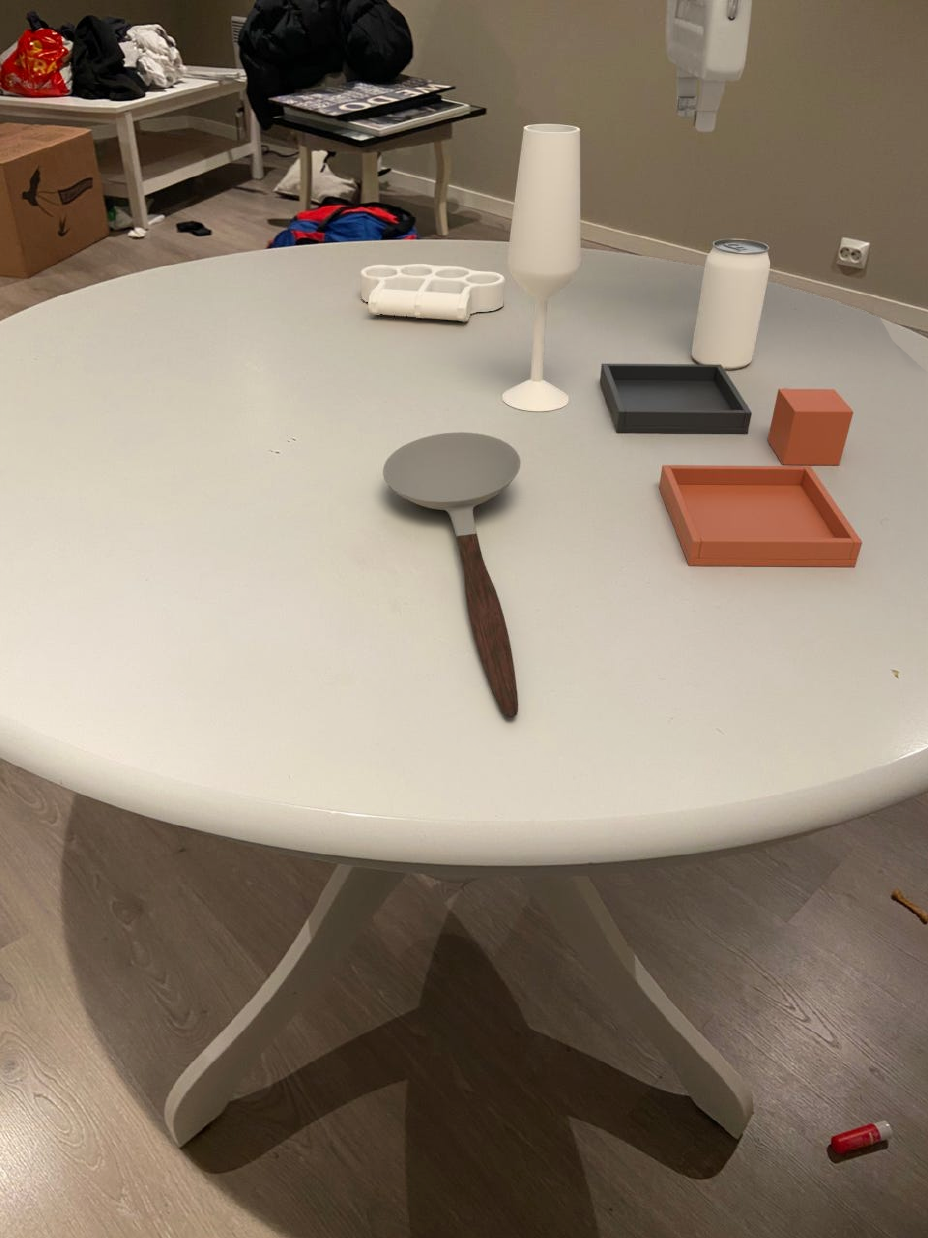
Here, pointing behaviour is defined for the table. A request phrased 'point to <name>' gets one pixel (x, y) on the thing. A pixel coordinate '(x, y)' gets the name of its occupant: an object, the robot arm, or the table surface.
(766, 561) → the terracotta tray
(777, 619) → the table surface
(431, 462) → the spoon
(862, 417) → the table surface
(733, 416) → the charcoal tray
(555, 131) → the champagne flute
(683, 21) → the robot arm
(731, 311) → the can
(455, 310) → the white brass knuckles
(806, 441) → the block
